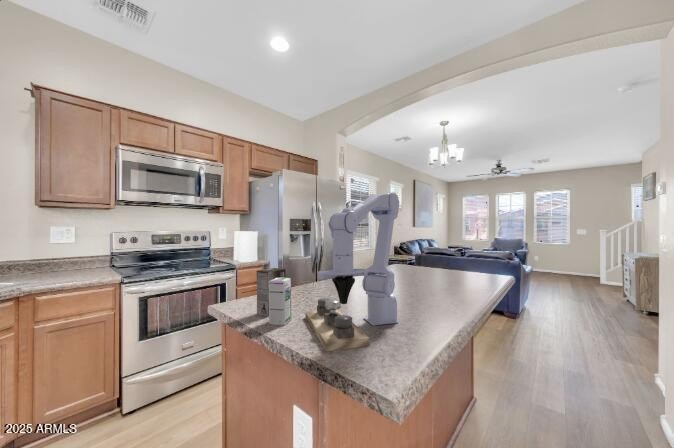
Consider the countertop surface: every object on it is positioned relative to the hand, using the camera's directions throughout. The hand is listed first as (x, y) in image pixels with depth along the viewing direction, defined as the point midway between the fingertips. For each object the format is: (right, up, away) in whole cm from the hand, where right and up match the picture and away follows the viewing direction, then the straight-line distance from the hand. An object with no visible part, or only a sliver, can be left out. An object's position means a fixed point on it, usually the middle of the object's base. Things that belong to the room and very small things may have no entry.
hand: (343, 303), depth 77 cm
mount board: (-3, -11, +8) cm, 13 cm away
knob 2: (0, -8, -2) cm, 8 cm away
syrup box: (-21, -11, +15) cm, 28 cm away
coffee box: (-26, -11, +26) cm, 39 cm away
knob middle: (-3, -6, +8) cm, 11 cm away
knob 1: (-6, -9, +18) cm, 20 cm away
